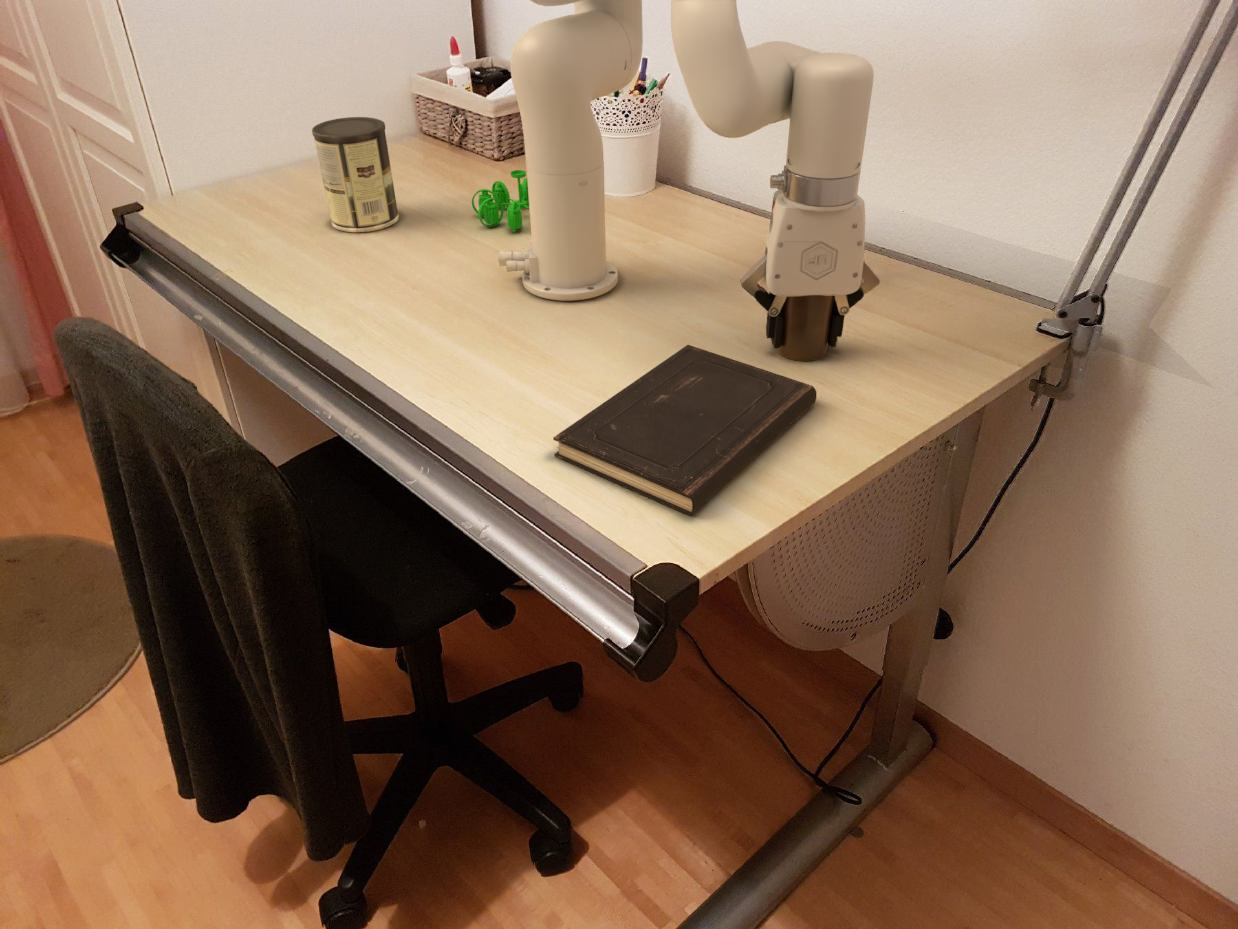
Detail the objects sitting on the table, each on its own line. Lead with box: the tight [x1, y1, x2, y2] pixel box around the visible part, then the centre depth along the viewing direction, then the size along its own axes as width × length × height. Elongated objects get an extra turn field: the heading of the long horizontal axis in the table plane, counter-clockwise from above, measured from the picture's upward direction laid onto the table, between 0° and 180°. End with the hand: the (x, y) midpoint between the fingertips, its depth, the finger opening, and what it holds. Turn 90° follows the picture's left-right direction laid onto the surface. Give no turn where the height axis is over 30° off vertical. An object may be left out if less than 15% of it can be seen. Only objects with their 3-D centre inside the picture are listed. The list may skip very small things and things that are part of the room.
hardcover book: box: [552, 344, 817, 516], centre depth 91 cm, size 16×23×2 cm
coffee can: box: [311, 116, 400, 233], centre depth 137 cm, size 10×10×14 cm
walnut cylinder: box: [776, 295, 834, 362], centre depth 103 cm, size 6×6×8 cm
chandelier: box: [471, 169, 529, 233], centre depth 139 cm, size 15×15×7 cm
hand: (802, 340), depth 105 cm, fingers closed on walnut cylinder, 5 cm apart
